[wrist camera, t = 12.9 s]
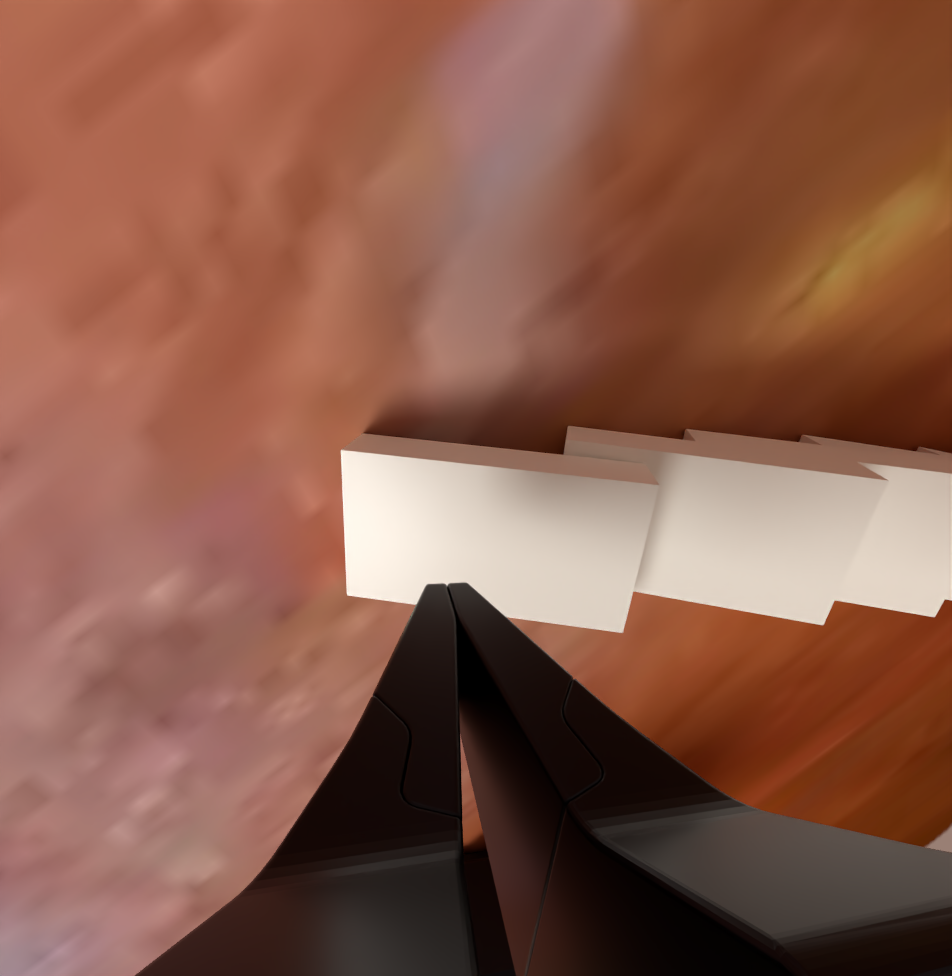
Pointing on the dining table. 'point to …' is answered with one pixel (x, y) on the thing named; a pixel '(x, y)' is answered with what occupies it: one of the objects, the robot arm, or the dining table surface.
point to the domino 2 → (744, 522)
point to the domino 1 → (496, 527)
